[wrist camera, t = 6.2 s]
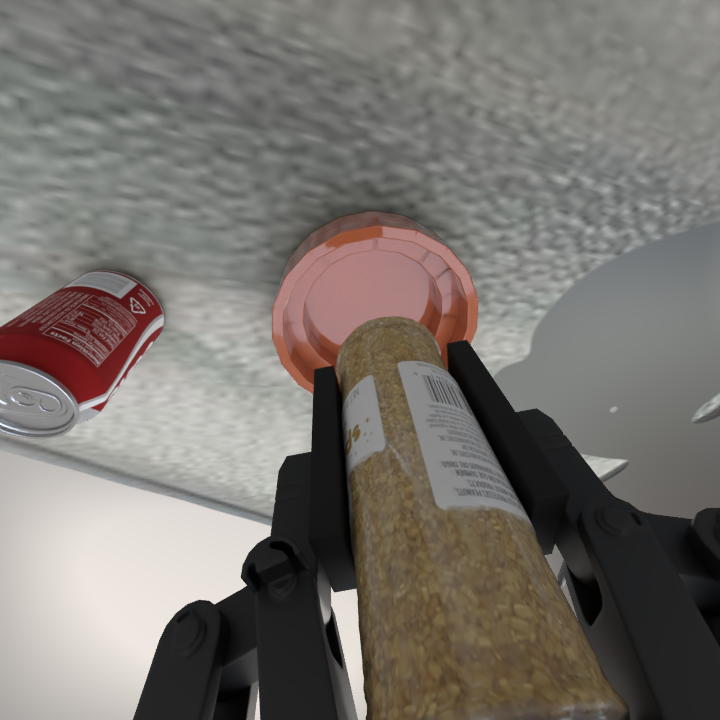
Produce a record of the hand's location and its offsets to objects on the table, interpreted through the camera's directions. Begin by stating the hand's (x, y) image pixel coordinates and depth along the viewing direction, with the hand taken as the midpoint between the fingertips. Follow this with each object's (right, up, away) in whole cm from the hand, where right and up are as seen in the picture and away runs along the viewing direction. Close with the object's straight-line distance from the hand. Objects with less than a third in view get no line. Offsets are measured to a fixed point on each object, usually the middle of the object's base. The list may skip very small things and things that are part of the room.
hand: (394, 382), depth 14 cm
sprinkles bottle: (0, +1, +2) cm, 2 cm away
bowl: (-1, +6, +17) cm, 18 cm away
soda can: (-21, +5, +15) cm, 26 cm away
